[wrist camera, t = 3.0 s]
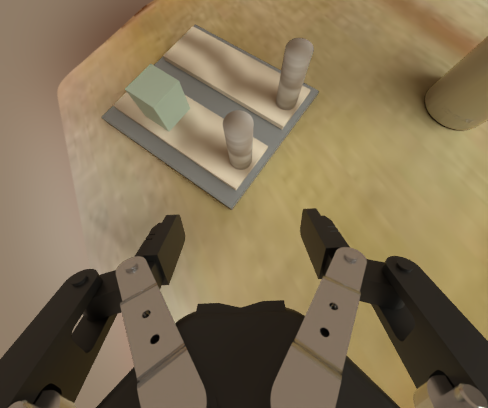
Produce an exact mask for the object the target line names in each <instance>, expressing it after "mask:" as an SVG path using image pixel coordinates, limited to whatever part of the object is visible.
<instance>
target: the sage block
mask: <svg viewBox="0 0 488 408" xmlns="http://www.w3.org/2000/svg"><path fill="white" fill-rule="evenodd" d="M125 90H126V91H127V93H128V94H129V95H130V97H131V98H132V99H133V101H134V102H135V103H136V105H137V106H138V107H139V109H140V110H141V111H142V112H143V114H144V115H145V116H146V117H148V118H149V119H151V120H152V121H154V122H155V123H157V124H158V125H160V126H161V127H163V128H164V129H166V130H167V131H169V132H170V130H171V129H172V128H173V127H174V126H175V125H176V124H177V123H178V122H179V120H180V119H181V118H182V117H183V116H184V115H185V114H186V113H187V112H188V110H189V109H190V107H189V104H188V102H187V99H186V97H185V94H184V92H183V89H182V87H181V84H180V82H179V80H177V79H175V78H174V77H172V76H170V75H169V74H167V73H165V72H164V71H162V70H160V69H159V68H157V67H155V66H154V65H152V64H150V65H149V66H148V67H147V68H146V69H145V70H144V71H143V72H142V73H141V74H140V75H138V76H137V77H136V78H135V79H134V80H133V81H132V82H131V83H130V84H129V85H128V86H127V87H126V88H125Z"/></svg>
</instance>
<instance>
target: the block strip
mask: <svg viewBox="0 0 488 408" xmlns="http://www.w3.org/2000/svg"><path fill="white" fill-rule="evenodd" d="M185 97H186V99H187V102H188V104H189V107H190V109H189V110H188V112H187V113H186V114H185V115H184V116H183V117H182V118H181V119H180V120H179V122H178V123H177V124H176V125H175V126H174V127H173V128H172V129H171V130H170V132H169V131H167V130H166V129H164V128H163V127H161V126H160V125H158V124H157V123H155V122H154V121H152V120H151V119H149V118H148V117H146V116H145V115H144V114H143V112H142V111H141V110H140V109H139V107H138V106H137V105H136V103H135V102H134V101H133V99H132V98H131V97H130V95H129V94H128V93H127V92H126V93H125V94H124V95H123V96H122V97H121V98H120V99H119V100H118V101H117V102H116V103H115V104H114V105H113V106H114V107H115V108H116V109H117V110H119V111H120V112H122V113H123V114H124V115H126V116H127V117H129V118H130V119H132V120H133V121H135V122H136V123H138V124H139V125H141V126H142V127H144V128H145V129H146V130H148V131H149V132H151V133H152V134H154V135H155V136H157V137H158V138H160V139H161V140H163V141H164V142H165V143H167V144H168V145H170V146H171V147H173V148H174V149H176V150H177V151H179V152H180V153H182V154H183V155H185V156H186V157H187V158H189V159H190V160H192V161H193V162H195V163H196V164H198V165H199V166H201V167H202V168H204V169H205V170H207V171H208V172H209V173H211V174H212V175H214V176H215V177H217V178H218V179H220V180H221V181H223V182H224V183H226V184H227V185H229V186H230V187H231V188H233V189H234V190H237V189H238V187H239V186H240V185H241V183H242V182H243V181H244V179H245V178H246V177H247V175H248V174H249V173H250V171H251V170H252V169H253V168H254V166H255V165H256V164H257V162H258V161H259V160H260V158H261V157H262V156H263V154H264V153H265V152H266V150H267V149H268V146H267V145H265V144H264V143H262V142H261V141H259V140H257V139H256V138H254V137H253V126H254V122H253V119H252V117H251V115H250V114H248V113H247V112H245V111H241V110H236V111H232V112H230V113H228V114H227V115H226V116H225V118H224V119H223V118H222V117H220V116H218V115H217V114H215V113H214V112H212V111H210V110H209V109H207V108H205V107H204V106H202V105H201V104H199V103H197V102H196V101H194V100H193V99H191V98H189V97H188V96H186V95H185Z"/></svg>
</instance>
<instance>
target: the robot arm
mask: <svg viewBox="0 0 488 408" xmlns="http://www.w3.org/2000/svg"><path fill="white" fill-rule="evenodd" d="M425 104H426V108H427V110H428V112H429V113H430V115H431V116H432V117H433V118H434V119H435V120H436V121H437V122H439V123H440V124H442V125H444V126H446V127H448V128H452V129H456V130H468V129H472V128H475V127H477V126H478V125H480V124H482V123H484V122H486V121H488V36H487V37H486V38H485V39H484V40H483V41H482V42H481V43H480V44H478V45H477V46H476V47H475V48H474V49H473V50H472V51H471V52H470V53H468V54H467V55H466V56H465V57H464V58H463V59H462V60H461V61H460V62H458V63H457V64H456V65H455V66H454V67H453V68H452V69H450V70H449V71H448V72H447V73H446V74H445V75H444V76H443V77H442V78H441V79H439V80H438V81H437V82H436V83H435V84H434V85H433V86H432V87H431V88H430V89H429V90H428V91H427V93H426V96H425ZM300 233H301V238H302V240H303V242H304V245H305V247H306V250H307V252H308V255H309V257H310V260H311V262H312V264H313V267H314V269H315V272H316V274H317V277H318V279H322V280H321V282H320V285H319V287H318V289H317V291H316V293H315V296H314V298H313V300H312V302H311V305H310V307H309V309H308V311H307V313H306V316H304V315H302V314H301V313H299V312H297V311H295V310H292V309H289V308H286V307H285V304H284V300H280V301H262V302H259V303H255V304H252V305H249V306H245V307H242V308H239V307H234V306H230V305H225V304H221V303H209V304H198V306H197V311H196V312H193V313H191V314H188V315H187V316H185V317H183V318H182V319H180V320H179V321H178V322H176V323H175V322H174V320H173V318H172V316H171V313H170V311H169V309H168V307H167V305H166V303H165V300H164V298H163V296H162V294H161V292H160V288H161V285H169V283H170V281H171V278H172V275H173V272H174V269H175V267H176V264H177V261H178V258H179V256H180V253H181V250H182V247H183V245H184V242H185V233H184V229H183V225H182V221H181V217H180V215H166V217H165V218H164V220H163V222H162V223H158V224H157V225H156V226H154V227H153V228H152V230H151V231H150V233H149V235H148V236H147V237H146V240H145V241H144V242H143V244H142V245H141V247H140V249H139V250H138V252H137V253H136V255H135V257H132V258H129V259H127V260H125V261H124V262H122V263H121V264H120V265H119V266H118V268H117V269H116V270H115V271H112V272H108V273H105V274H101V275H99V274H98V272H97V271H96V270H94V269H86V270H83V271H80V272H78V273H76V274H74V275H73V276H71V277H70V278H69V279H68V280H66V282H65V283H64V284H63V285H62V286H61V287H60V289H59V290H58V291H57V292H56V293H55V295H54V296H53V297H52V298H51V299H50V301H49V302H48V303H47V304H46V305H45V307H44V308H43V309H42V310H41V311H40V313H39V314H38V315H37V316H36V317H35V319H34V320H33V321H32V322H31V323H30V325H29V326H28V327H27V328H26V329H25V331H24V332H23V333H22V334H21V335H20V337H19V338H18V339H17V340H16V341H15V342H14V344H13V345H12V346H11V347H10V348H9V350H8V351H7V352H6V353H5V354H4V356H3V357H2V358H1V359H0V408H76V406H75V404H74V402H75V400H76V398H77V396H78V394H79V392H80V390H81V388H82V386H83V383H84V381H85V379H86V377H87V375H88V373H89V371H90V369H91V367H92V365H93V363H94V361H95V359H96V357H97V355H98V353H99V350H100V348H101V346H102V344H103V342H104V340H105V338H106V336H107V334H108V332H109V330H110V328H111V326H112V324H113V322H114V320H115V318H116V316H117V314H118V313H121V312H122V316H123V320H124V324H125V329H126V333H127V337H128V341H129V346H130V350H131V354H132V359H133V363H134V368H133V369H132V370H131V371H130V372H129V373H128V374H127V375H126V376H125V377H124V378H123V379H122V380H121V381H120V382H119V384H118V385H117V386H116V387H115V388H114V389H113V390H112V391H111V392H110V393H109V394H108V395H107V396H106V397H105V398H104V400H103V401H102V402H101V403H100V404H99V405H98V406H97V407H96V408H400V407H399V406H398V405H397V404H396V403H395V402H394V401H393V400H392V399H391V398H390V397H389V396H388V395H387V394H386V393H385V392H384V391H383V390H382V389H381V388H379V387H378V386H377V385H376V384H375V383H374V382H373V381H372V380H371V379H370V378H369V377H368V376H367V375H366V374H365V373H364V372H363V371H362V370H361V369H360V368H359V367H358V366H357V365H356V364H355V363H354V362H353V361H352V360H351V359H350V358H349V357H348V356H346V354H347V350H348V346H349V342H350V337H351V333H352V329H353V325H354V321H355V316H356V312H357V308H358V304H359V301H362V302H366V303H370V304H371V305H372V306H373V308H374V310H375V312H376V314H377V316H378V317H379V319H380V321H381V323H382V325H383V327H384V329H385V330H386V332H387V334H388V336H389V338H390V340H391V342H392V343H393V345H394V347H395V349H396V351H397V353H398V354H399V356H400V358H401V360H402V362H403V364H404V366H405V367H406V369H407V371H408V373H409V375H410V377H411V379H412V380H413V382H414V384H415V386H416V388H417V389H416V391H415V392H414V397H413V400H414V405H415V408H488V341H487V340H486V339H485V338H484V337H483V336H482V335H481V333H480V332H479V331H478V330H477V329H476V328H475V327H474V326H473V325H472V324H471V323H470V321H469V320H468V319H467V318H466V317H465V316H464V315H463V314H462V313H461V312H460V311H459V310H458V308H457V307H456V306H455V305H454V304H453V303H452V302H451V301H450V300H449V299H448V298H447V296H446V295H445V294H444V293H443V292H442V291H441V290H440V289H439V288H438V287H437V286H436V285H435V283H434V282H433V281H432V280H431V279H430V278H429V277H428V276H427V275H426V274H425V273H424V271H423V270H422V269H421V268H420V267H419V266H418V265H417V264H415V263H414V262H412V261H410V260H408V259H406V258H403V257H399V256H391V257H388V258H387V259H386V261H385V263H384V262H378V261H373V260H368V259H366V258H365V256H364V255H363V254H362V253H361V252H359V251H358V250H356V249H353V248H350V247H349V245H348V244H347V242H346V241H345V240H344V238H343V237H342V235H341V234H340V232H338V229H337V228H336V227H335V225H334V224H333V222H332V221H331V220H330V219H329V218H327V217H326V216H321V215H320V214H319V212H318V211H317V209H316V208H314V209H303V212H302V220H301V227H300ZM82 314H83V315H84V316H83V317H82V319H81V320H80V322H79V324H78V325H77V327H76V328H75V330H74V332H73V333H72V330H73V328H74V326H75V324H76V323H77V322H78V320H79V319H80V317H81V315H82Z"/></svg>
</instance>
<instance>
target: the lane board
mask: <svg viewBox="0 0 488 408" xmlns="http://www.w3.org/2000/svg"><path fill="white" fill-rule="evenodd" d="M193 27H195V28H197V29H199V30H201V31H203V32H205V33H206V34H208V35H210V36H212V37H214V38H216V39H217V40H219V41H221V42H223V43H225V44H227V45H229V46H230V47H232V48H234V49H236V50H238V51H240V52H242V53H243V54H245V55H247V56H249V57H251V58H253V59H254V60H256V61H258V62H260V63H262V64H264V65H266V66H267V67H269V68H271V69H273V70H275V71H277V72H279V73H280V74H281V70H279V69H277V68H275V67H273V66H272V65H270V64H268V63H266V62H264V61H262V60H260V59H259V58H257V57H255V56H253V55H251V54H249V53H247V52H246V51H244V50H242V49H240V48H238V47H236V46H234V45H233V44H231V43H229V42H227V41H225V40H223V39H221V38H220V37H218V36H216V35H214V34H212V33H210V32H208V31H207V30H205V29H203V28H201V27H199V26H197V25H194V26H193ZM154 66H155V67H157V68H159V69H160V70H162V71H164V72H165V73H167V74H169V75H170V76H172V77H174V78H175V79H177V80H179V82H180V84H181V87H182V89H183V92H184V94H185V95H186V96H188V97H189V98H191V99H193V100H194V101H196V102H197V103H199V104H201V105H202V106H204V107H205V108H207V109H209V110H210V111H212V112H214V113H215V114H217V115H218V116H220V117H222V118H223V119H224V118H225V116H226V115H227V114H228V113H230V112H232V111H236V110H241V111H245V112H247V113H248V114H250V115H251V117H252V119H253V122H254V126H253V137H254V138H256V139H257V140H259V141H261V142H262V143H264V144H265V145H267V146H268V149H267V150H266V152H265V153H264V154H263V156H262V157H261V158H260V160H259V161H258V162H257V164H256V165H255V166H254V168H253V169H252V170H251V171H250V173H249V174H248V175H247V177H246V178H245V179H244V181H243V182H242V183H241V185H240V186H239V187H238V189H237V190H234V189H233V188H231V187H230V186H229V185H227V184H226V183H224V182H223V181H221V180H220V179H218V178H217V177H215V176H214V175H212V174H211V173H209V172H208V171H207V170H205V169H204V168H202V167H201V166H199V165H198V164H196V163H195V162H193V161H192V160H190V159H189V158H187V157H186V156H185V155H183V154H182V153H180V152H179V151H177V150H176V149H174V148H173V147H171V146H170V145H168V144H167V143H165V142H164V141H163V140H161V139H160V138H158V137H157V136H155V135H154V134H152V133H151V132H149V131H148V130H146V129H145V128H144V127H142V126H141V125H139V124H138V123H136V122H135V121H133V120H132V119H130V118H129V117H127V116H126V115H124V114H123V113H122V112H120V111H119V110H117V109H116V108H115V107H114V106H112V107H111V108H110V109H109V110H108V111H107V112H106V113H105V114H104V115H103V116H102V118H103V119H104V120H105V121H106V122H108V123H109V124H110V125H112V126H113V127H115V128H116V129H118V130H119V131H120V132H122V133H123V134H125V135H126V136H128V137H129V138H130V139H132V140H133V141H135V142H136V143H137V144H139V145H140V146H142V147H143V148H145V149H146V150H147V151H149V152H150V153H152V154H153V155H154V156H156V157H157V158H159V159H160V160H162V161H163V162H164V163H166V164H167V165H169V166H170V167H172V168H173V169H174V170H176V171H177V172H179V173H180V174H181V175H183V176H184V177H186V178H187V179H189V180H190V181H191V182H193V183H194V184H196V185H197V186H198V187H200V188H201V189H203V190H204V191H206V192H207V193H208V194H210V195H211V196H213V197H214V198H216V199H217V200H218V201H220V202H221V203H223V204H224V205H225V206H227V207H228V208H230V209H231V210H232V209H233V208H234V206H235V205H236V204H237V202H238V201H239V200H240V198H241V197H242V196H243V194H244V193H245V191H246V190H247V189H248V187H249V186H250V185H251V183H252V182H253V181H254V179H255V178H256V177H257V175H258V174H259V173H260V171H261V170H262V169H263V167H264V166H265V165H266V163H267V162H268V161H269V159H270V158H271V157H272V155H273V154H274V152H275V151H276V150H277V148H278V147H279V146H280V144H281V143H282V142H283V140H284V139H285V138H286V136H287V135H288V134H289V132H290V131H291V130H292V128H293V127H294V126H295V124H296V123H297V122H298V120H299V119H300V118H301V116H302V115H303V113H304V112H305V111H306V109H307V108H308V107H309V105H310V104H311V103H312V101H313V100H314V99H315V97H316V96H317V95H318V92H319V91H318V90H316V89H314V88H313V87H311V86H309V85H307V84H305V83H303V86H304V87H306V88H308V89H310V93H309V95H308V96H307V97H306V99H305V100H304V101H303V103H302V104H301V105H300V107H299V108H298V109H297V111H296V112H295V113H294V115H293V116H292V117H291V119H290V120H289V121H288V123H287V124H286V125H285V127H284V128H283V129H280V128H278V127H277V126H275V125H273V124H272V123H270V122H268V121H267V120H265V119H263V118H261V117H260V116H258V115H256V114H255V113H253V112H251V111H250V110H248V109H246V108H245V107H243V106H241V105H240V104H238V103H236V102H235V101H233V100H231V99H229V98H228V97H226V96H224V95H223V94H221V93H219V92H218V91H216V90H214V89H213V88H211V87H209V86H208V85H206V84H204V83H203V82H201V81H199V80H197V79H196V78H194V77H192V76H191V75H189V74H187V73H186V72H184V71H182V70H181V69H179V68H177V67H176V66H174V65H172V64H171V63H169V62H167V61H165V59H164V57H162V58H161V59H160V60H159V61H158V62H157V63H156V64H155V65H154Z"/></svg>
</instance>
